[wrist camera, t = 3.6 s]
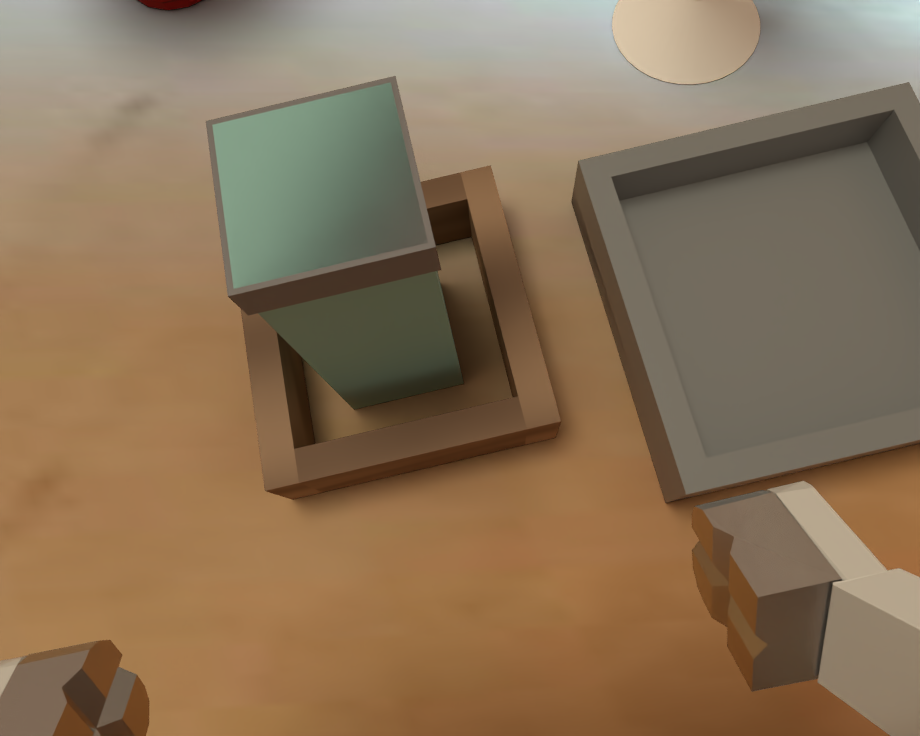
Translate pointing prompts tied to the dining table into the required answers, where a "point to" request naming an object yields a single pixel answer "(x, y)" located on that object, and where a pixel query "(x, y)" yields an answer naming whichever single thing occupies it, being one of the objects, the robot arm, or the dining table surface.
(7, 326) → the dining table surface
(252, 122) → the pin
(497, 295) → the walnut collar
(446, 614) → the dining table surface
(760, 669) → the robot arm
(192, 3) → the plastic cup
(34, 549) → the dining table surface
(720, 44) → the champagne flute
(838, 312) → the grey tray
